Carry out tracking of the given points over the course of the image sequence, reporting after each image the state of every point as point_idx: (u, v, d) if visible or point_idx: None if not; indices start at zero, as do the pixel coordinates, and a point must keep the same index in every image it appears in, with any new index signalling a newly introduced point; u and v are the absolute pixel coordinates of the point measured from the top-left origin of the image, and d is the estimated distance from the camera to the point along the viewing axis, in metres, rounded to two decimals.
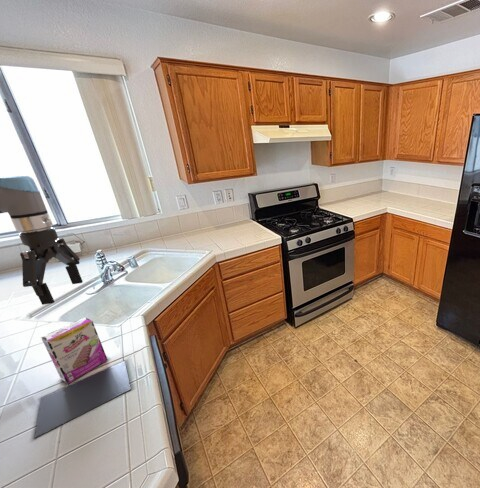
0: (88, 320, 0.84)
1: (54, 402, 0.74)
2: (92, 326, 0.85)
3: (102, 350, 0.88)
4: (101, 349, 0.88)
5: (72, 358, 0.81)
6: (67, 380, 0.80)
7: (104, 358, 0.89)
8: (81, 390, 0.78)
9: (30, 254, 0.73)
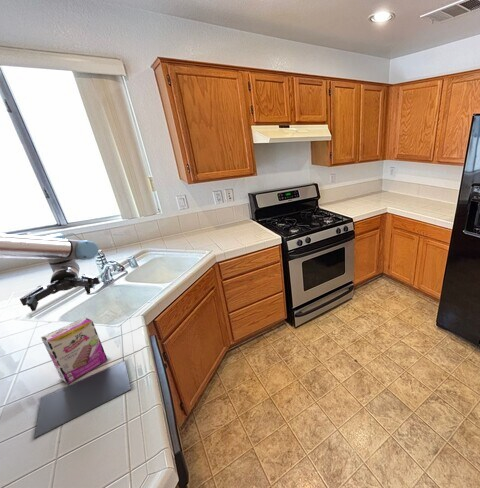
0: (88, 320, 0.84)
1: (54, 402, 0.74)
2: (92, 326, 0.85)
3: (102, 350, 0.88)
4: (101, 349, 0.88)
5: (72, 358, 0.81)
6: (67, 380, 0.80)
7: (104, 358, 0.89)
8: (81, 390, 0.78)
9: None
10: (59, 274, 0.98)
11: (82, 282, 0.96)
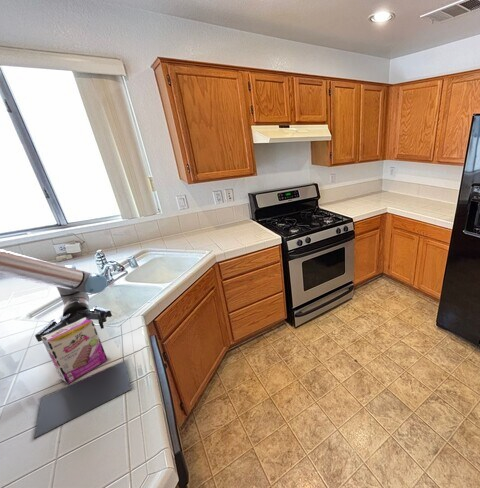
0: (88, 320, 0.84)
1: (54, 402, 0.74)
2: (92, 326, 0.85)
3: (102, 350, 0.88)
4: (101, 349, 0.88)
5: (72, 358, 0.81)
6: (67, 380, 0.80)
7: (104, 358, 0.89)
8: (81, 390, 0.78)
9: None
10: (71, 307, 1.00)
11: (95, 315, 0.98)
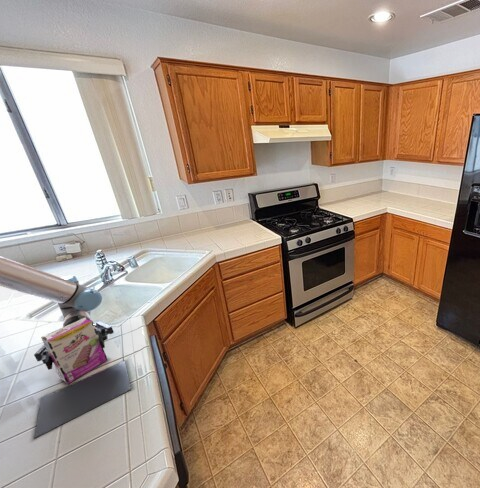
0: (88, 320, 0.84)
1: (54, 402, 0.74)
2: (92, 326, 0.85)
3: (102, 350, 0.88)
4: (101, 349, 0.88)
5: (72, 358, 0.81)
6: (67, 380, 0.80)
7: (104, 357, 0.89)
8: (81, 390, 0.78)
9: None
10: (72, 322, 0.92)
11: None
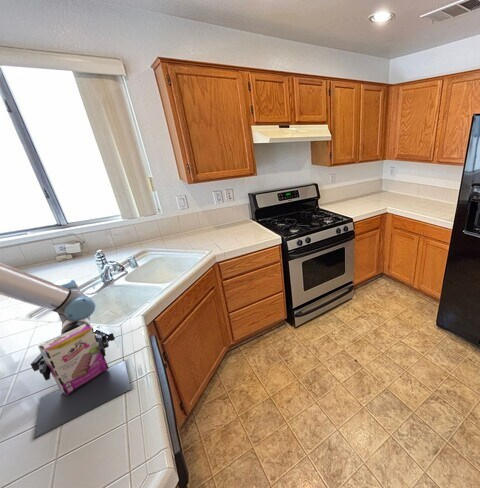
0: (88, 327, 0.80)
1: (54, 402, 0.74)
2: (92, 333, 0.80)
3: (103, 358, 0.83)
4: (102, 357, 0.83)
5: (71, 368, 0.76)
6: (66, 391, 0.76)
7: (105, 366, 0.84)
8: (81, 390, 0.78)
9: None
10: (70, 328, 0.87)
11: None
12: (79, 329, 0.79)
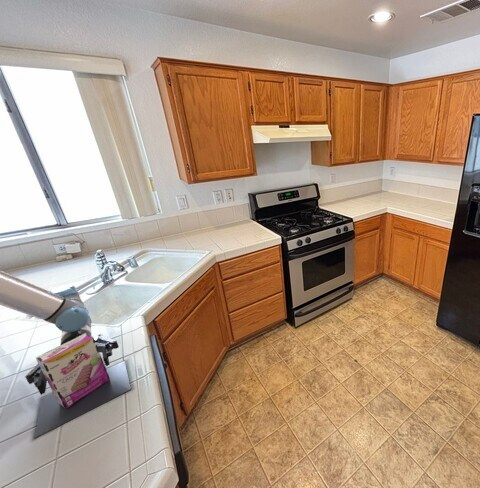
0: (89, 337, 0.76)
1: (54, 402, 0.74)
2: (93, 343, 0.76)
3: (104, 369, 0.79)
4: (103, 368, 0.79)
5: (71, 380, 0.72)
6: (65, 405, 0.72)
7: (106, 377, 0.80)
8: None
9: None
10: (70, 337, 0.84)
11: (98, 348, 0.82)
12: (79, 339, 0.75)
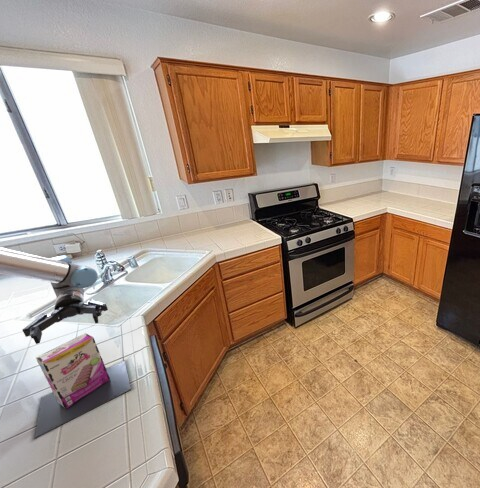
0: (89, 337, 0.76)
1: (54, 402, 0.74)
2: (93, 343, 0.76)
3: (104, 369, 0.79)
4: (103, 368, 0.79)
5: (71, 380, 0.72)
6: (65, 405, 0.72)
7: (106, 377, 0.80)
8: None
9: None
10: (64, 300, 0.92)
11: (89, 309, 0.91)
12: (79, 339, 0.75)
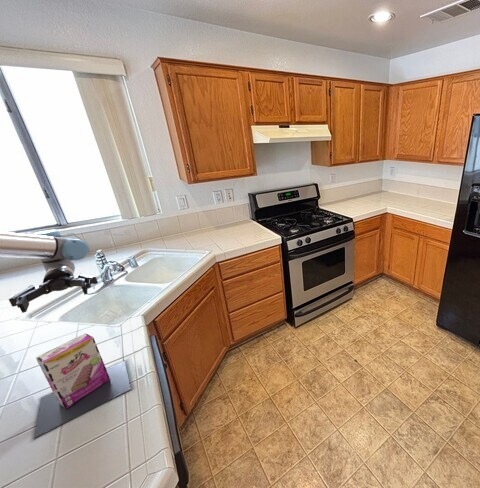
0: (89, 337, 0.76)
1: (54, 402, 0.74)
2: (93, 343, 0.76)
3: (104, 369, 0.79)
4: (103, 368, 0.79)
5: (71, 380, 0.72)
6: (65, 405, 0.72)
7: (106, 377, 0.80)
8: None
9: None
10: (53, 273, 0.90)
11: (78, 282, 0.89)
12: (79, 339, 0.75)
